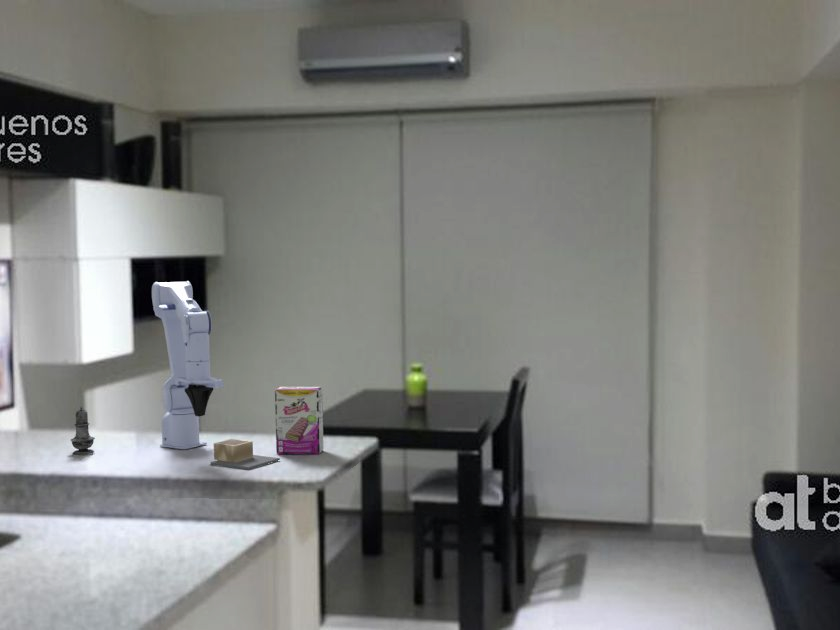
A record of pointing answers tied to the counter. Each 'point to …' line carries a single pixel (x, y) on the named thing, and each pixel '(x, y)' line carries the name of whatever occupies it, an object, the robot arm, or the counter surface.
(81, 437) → the salt shaker
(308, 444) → the candy bar box
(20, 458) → the counter surface
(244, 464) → the grey plate
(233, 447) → the maple block
